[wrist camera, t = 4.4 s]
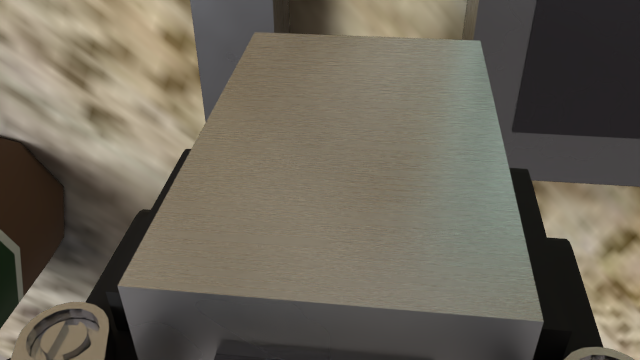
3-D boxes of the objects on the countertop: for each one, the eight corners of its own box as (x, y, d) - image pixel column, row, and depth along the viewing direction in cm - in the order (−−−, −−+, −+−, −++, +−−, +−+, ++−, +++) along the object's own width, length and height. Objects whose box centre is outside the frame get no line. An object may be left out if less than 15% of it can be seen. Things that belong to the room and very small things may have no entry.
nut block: (254, 32, 14) (110, 298, 7) (480, 40, 13) (546, 335, 7) (268, 206, 17) (173, 509, 10) (453, 219, 16) (482, 547, 10)
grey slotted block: (205, -108, 21) (177, -90, 18) (835, -99, 19) (901, -78, 16) (229, 123, 26) (210, 162, 24) (728, 149, 24) (766, 195, 21)
